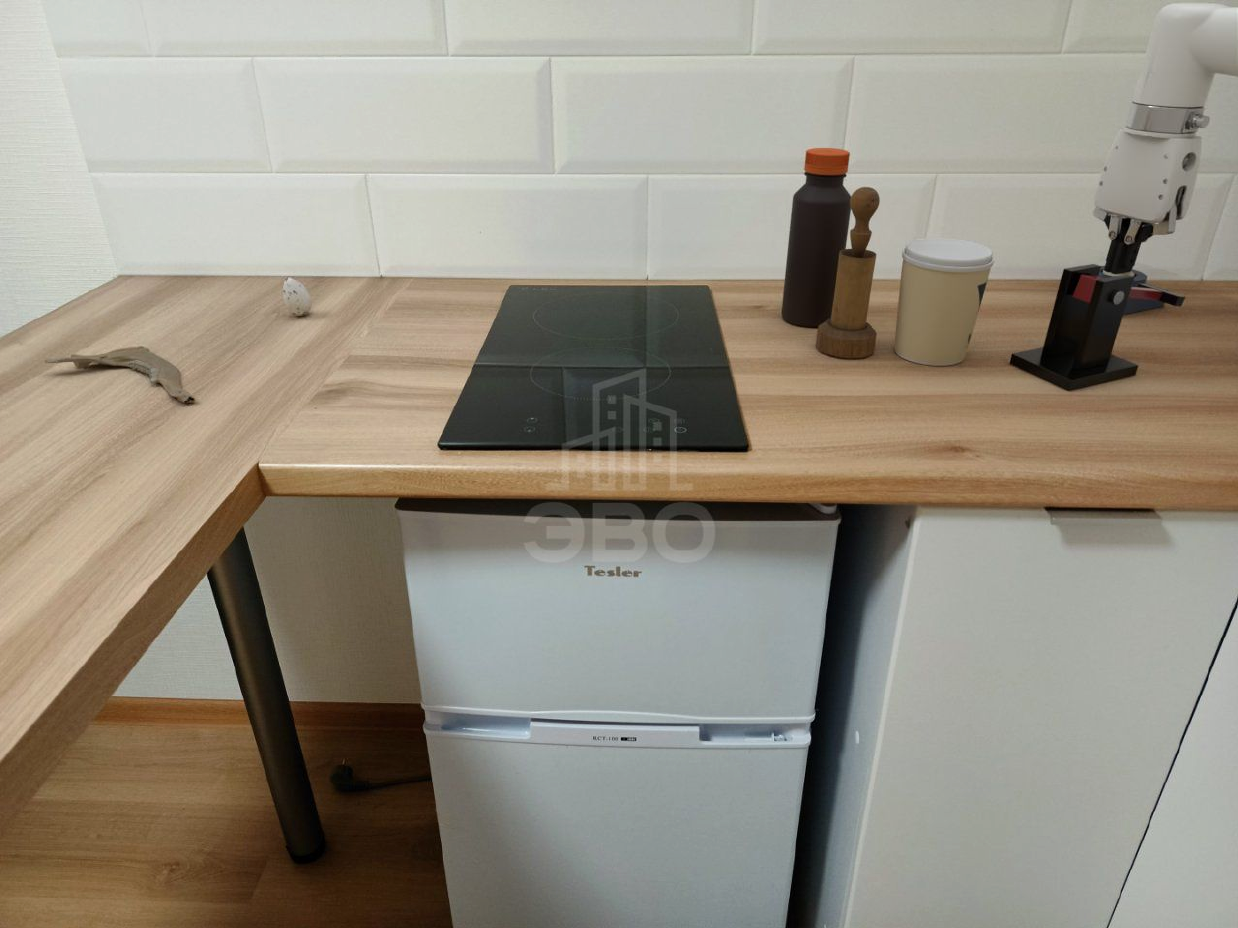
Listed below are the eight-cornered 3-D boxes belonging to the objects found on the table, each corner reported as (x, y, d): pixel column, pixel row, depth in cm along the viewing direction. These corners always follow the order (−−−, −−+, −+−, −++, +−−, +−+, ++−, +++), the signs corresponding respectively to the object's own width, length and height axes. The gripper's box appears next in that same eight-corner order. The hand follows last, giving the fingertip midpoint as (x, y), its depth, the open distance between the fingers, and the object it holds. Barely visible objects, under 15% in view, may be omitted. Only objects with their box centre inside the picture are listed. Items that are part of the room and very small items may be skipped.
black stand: (1074, 349, 99) (1100, 257, 93) (1135, 375, 92) (1167, 277, 87) (1008, 363, 95) (1032, 268, 90) (1068, 391, 89) (1097, 290, 84)
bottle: (812, 332, 103) (834, 159, 94) (769, 317, 108) (785, 150, 98) (847, 319, 107) (870, 152, 97) (804, 306, 112) (822, 144, 102)
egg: (314, 318, 108) (307, 279, 105) (287, 321, 107) (280, 282, 104) (312, 310, 110) (305, 272, 108) (286, 313, 109) (278, 274, 107)
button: (1112, 279, 114) (1116, 266, 113) (1136, 287, 111) (1141, 273, 110) (1093, 282, 113) (1097, 269, 112) (1117, 290, 110) (1121, 277, 109)
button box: (1110, 289, 118) (1118, 260, 116) (1163, 306, 112) (1173, 276, 110) (1057, 298, 115) (1065, 269, 113) (1109, 317, 108) (1118, 286, 106)
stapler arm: (1137, 299, 97) (1146, 278, 96) (1178, 312, 93) (1188, 291, 92) (1061, 293, 91) (1069, 270, 90) (1101, 307, 87) (1110, 284, 86)
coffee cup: (986, 368, 94) (1011, 260, 88) (902, 370, 94) (922, 261, 88) (953, 337, 102) (973, 236, 96) (875, 338, 102) (891, 237, 96)
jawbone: (119, 353, 100) (116, 335, 99) (257, 383, 93) (255, 365, 92) (46, 375, 92) (41, 357, 91) (190, 410, 85) (186, 391, 84)
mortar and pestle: (881, 345, 100) (906, 186, 91) (864, 363, 95) (890, 197, 86) (825, 334, 103) (845, 179, 94) (807, 352, 98) (826, 190, 89)
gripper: (1245, 128, 98) (1190, 285, 107) (1129, 111, 109) (1089, 253, 118) (1200, 131, 95) (1149, 292, 104) (1087, 114, 107) (1049, 259, 116)
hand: (1117, 271), depth 111 cm, fingers closed
